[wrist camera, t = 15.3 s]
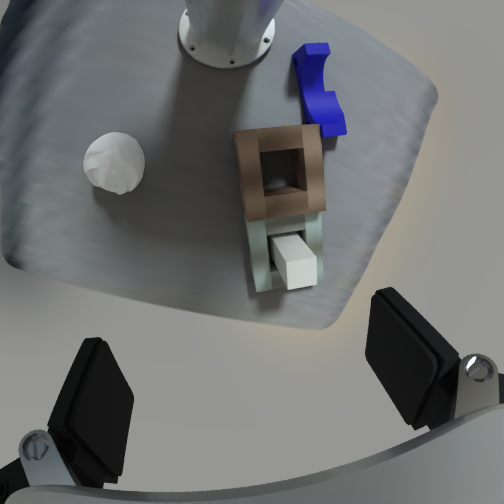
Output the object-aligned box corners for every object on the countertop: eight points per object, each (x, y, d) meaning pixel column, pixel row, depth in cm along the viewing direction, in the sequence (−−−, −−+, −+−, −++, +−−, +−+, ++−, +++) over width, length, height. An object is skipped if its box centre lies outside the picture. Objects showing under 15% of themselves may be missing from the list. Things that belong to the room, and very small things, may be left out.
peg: (269, 233, 43) (286, 262, 34) (294, 230, 43) (316, 257, 34) (271, 256, 44) (287, 289, 35) (295, 253, 45) (317, 284, 35)
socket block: (232, 132, 37) (236, 131, 32) (306, 124, 38) (319, 123, 33) (253, 282, 45) (258, 299, 41) (316, 271, 46) (327, 286, 42)
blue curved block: (337, 132, 39) (357, 133, 33) (308, 136, 39) (324, 137, 33) (322, 53, 34) (338, 42, 29) (291, 55, 34) (304, 43, 28)
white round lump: (90, 177, 36) (66, 188, 29) (107, 125, 34) (85, 124, 27) (140, 195, 38) (126, 209, 31) (160, 143, 36) (148, 144, 29)
